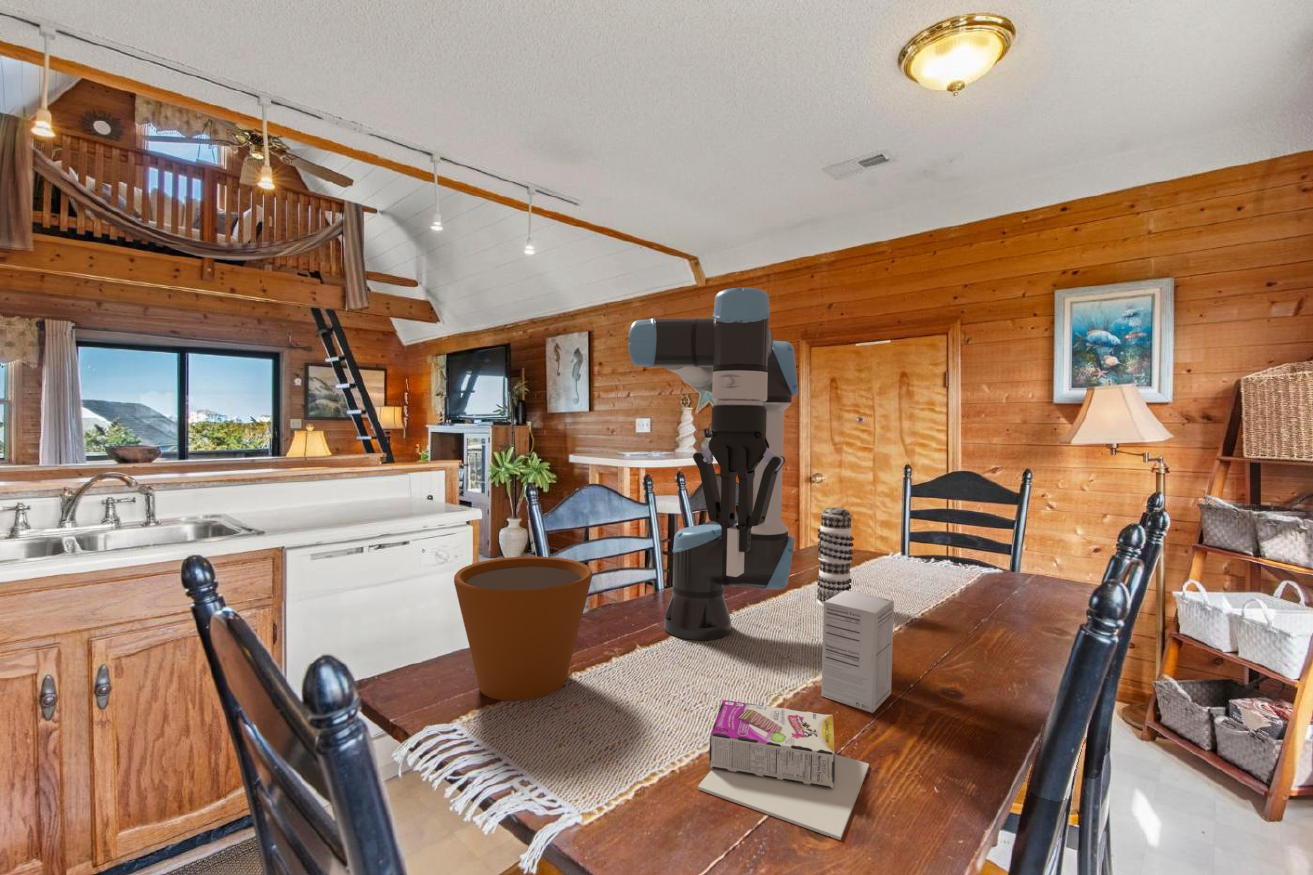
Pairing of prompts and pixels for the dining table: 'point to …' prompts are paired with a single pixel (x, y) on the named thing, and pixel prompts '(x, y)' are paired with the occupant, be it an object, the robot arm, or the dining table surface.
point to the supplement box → (857, 649)
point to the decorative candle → (834, 553)
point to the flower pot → (522, 622)
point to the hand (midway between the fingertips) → (735, 573)
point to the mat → (795, 796)
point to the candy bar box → (774, 743)
